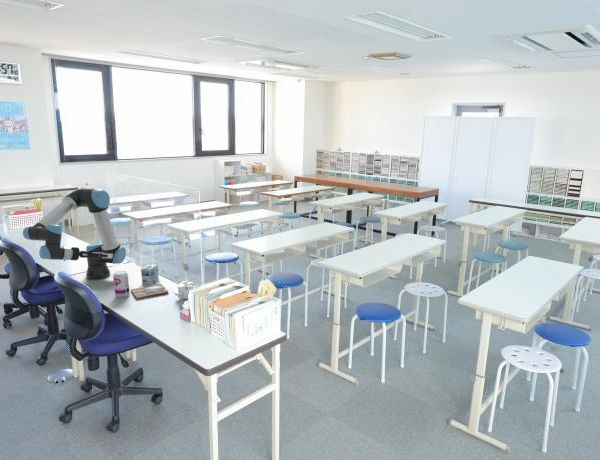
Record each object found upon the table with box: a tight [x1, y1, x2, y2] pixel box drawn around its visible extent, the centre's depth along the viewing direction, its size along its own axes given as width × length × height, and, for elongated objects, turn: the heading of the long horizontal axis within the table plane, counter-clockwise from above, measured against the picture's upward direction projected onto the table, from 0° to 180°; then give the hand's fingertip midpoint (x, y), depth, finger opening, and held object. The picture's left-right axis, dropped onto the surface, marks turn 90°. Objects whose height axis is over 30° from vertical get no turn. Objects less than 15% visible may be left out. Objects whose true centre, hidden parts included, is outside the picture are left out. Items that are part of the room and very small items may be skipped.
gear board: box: [130, 283, 169, 301], centre depth 280 cm, size 16×19×2 cm
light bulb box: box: [140, 263, 160, 286], centre depth 298 cm, size 11×7×11 cm, turn 168°
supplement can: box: [112, 270, 131, 299], centre depth 273 cm, size 8×8×15 cm
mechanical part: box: [174, 279, 196, 302], centre depth 268 cm, size 11×12×12 cm
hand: (107, 255), depth 272 cm, fingers open, 13 cm apart
